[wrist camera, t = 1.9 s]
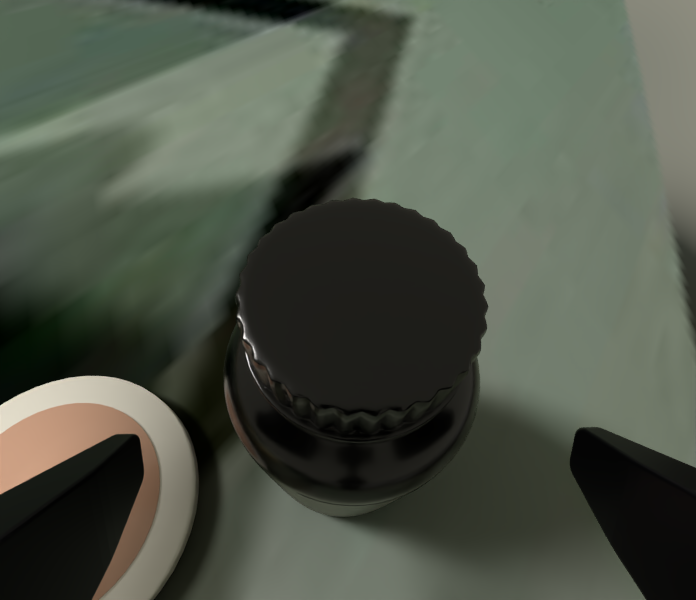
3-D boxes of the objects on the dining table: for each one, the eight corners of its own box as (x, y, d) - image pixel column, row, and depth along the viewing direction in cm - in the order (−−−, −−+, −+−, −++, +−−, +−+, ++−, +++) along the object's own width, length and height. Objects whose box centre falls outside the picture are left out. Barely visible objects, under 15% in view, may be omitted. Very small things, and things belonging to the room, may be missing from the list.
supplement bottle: (410, 358, 20) (509, 166, 9) (427, 515, 16) (611, 491, 6) (269, 358, 19) (208, 157, 9) (256, 519, 16) (132, 500, 6)
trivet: (248, 516, 16) (243, 515, 15) (-24, 766, 12) (-54, 787, 11) (125, 341, 19) (115, 331, 18) (-117, 496, 16) (-146, 494, 15)
